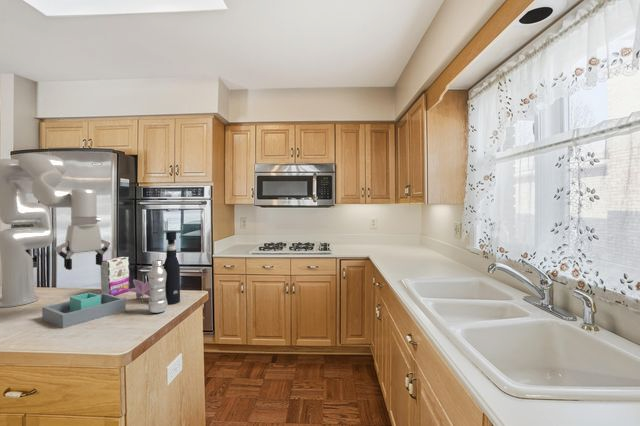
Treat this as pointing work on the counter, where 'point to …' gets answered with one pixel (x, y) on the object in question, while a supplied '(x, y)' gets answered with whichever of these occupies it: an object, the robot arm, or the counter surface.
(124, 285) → the candy bar box
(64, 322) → the gray crate
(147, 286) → the lily
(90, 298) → the teal crate
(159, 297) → the silver ribbed bottle
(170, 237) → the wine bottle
